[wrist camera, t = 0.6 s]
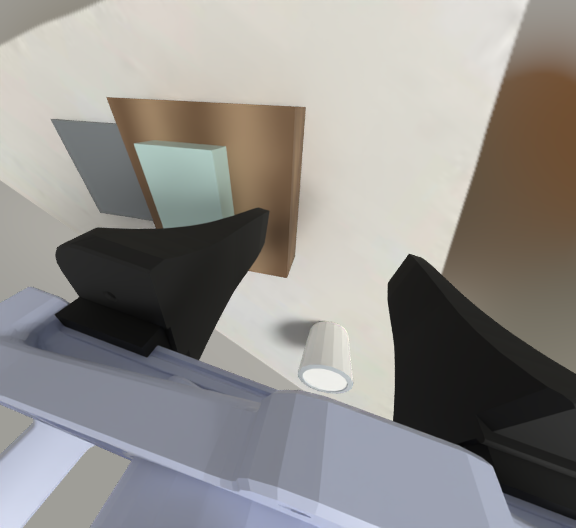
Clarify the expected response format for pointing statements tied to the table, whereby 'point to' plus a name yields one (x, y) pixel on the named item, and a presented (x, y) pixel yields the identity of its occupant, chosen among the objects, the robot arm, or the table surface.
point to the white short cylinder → (327, 359)
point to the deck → (231, 158)
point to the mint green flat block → (187, 181)
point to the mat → (104, 166)
